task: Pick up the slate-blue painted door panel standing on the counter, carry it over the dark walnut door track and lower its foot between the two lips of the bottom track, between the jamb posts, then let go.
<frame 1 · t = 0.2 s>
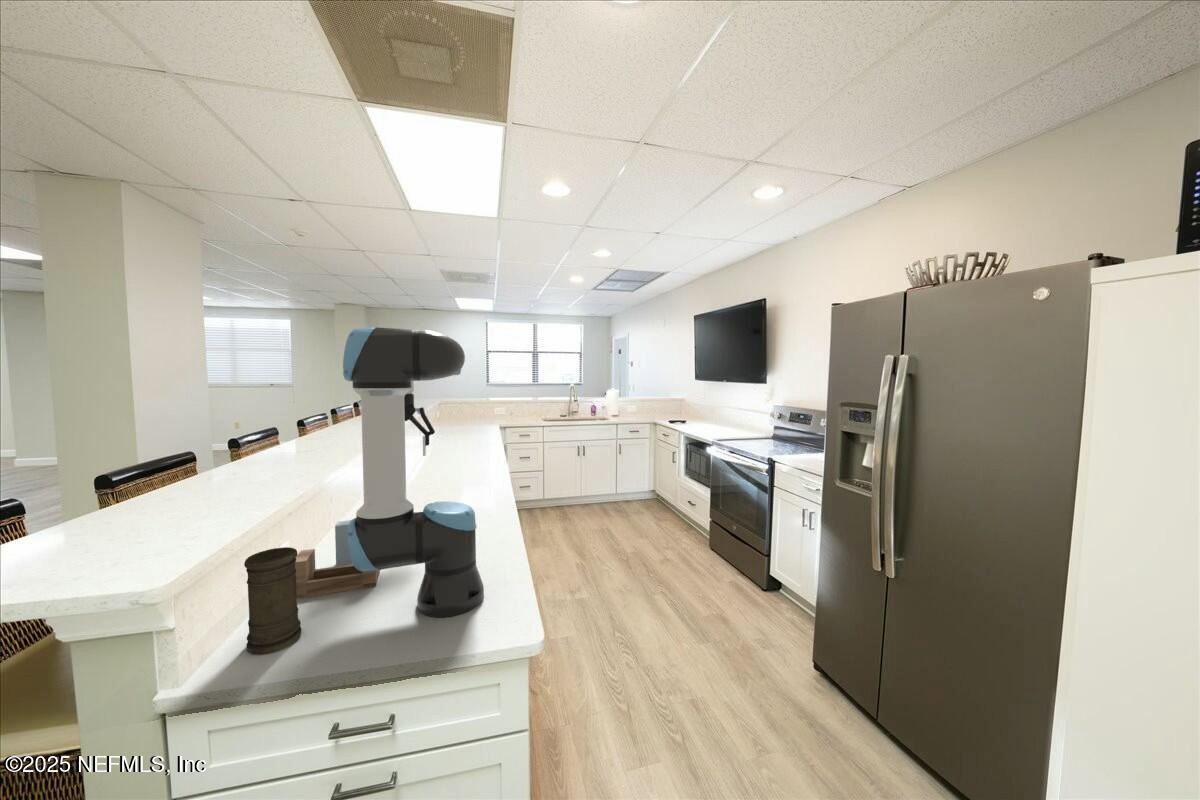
hand: (402, 456, 140), 27 cm above the worktop, fingers open, 13 cm apart
door: (353, 562, 121), on the worktop
frame: (338, 585, 108), on the worktop
container: (275, 642, 85), on the worktop
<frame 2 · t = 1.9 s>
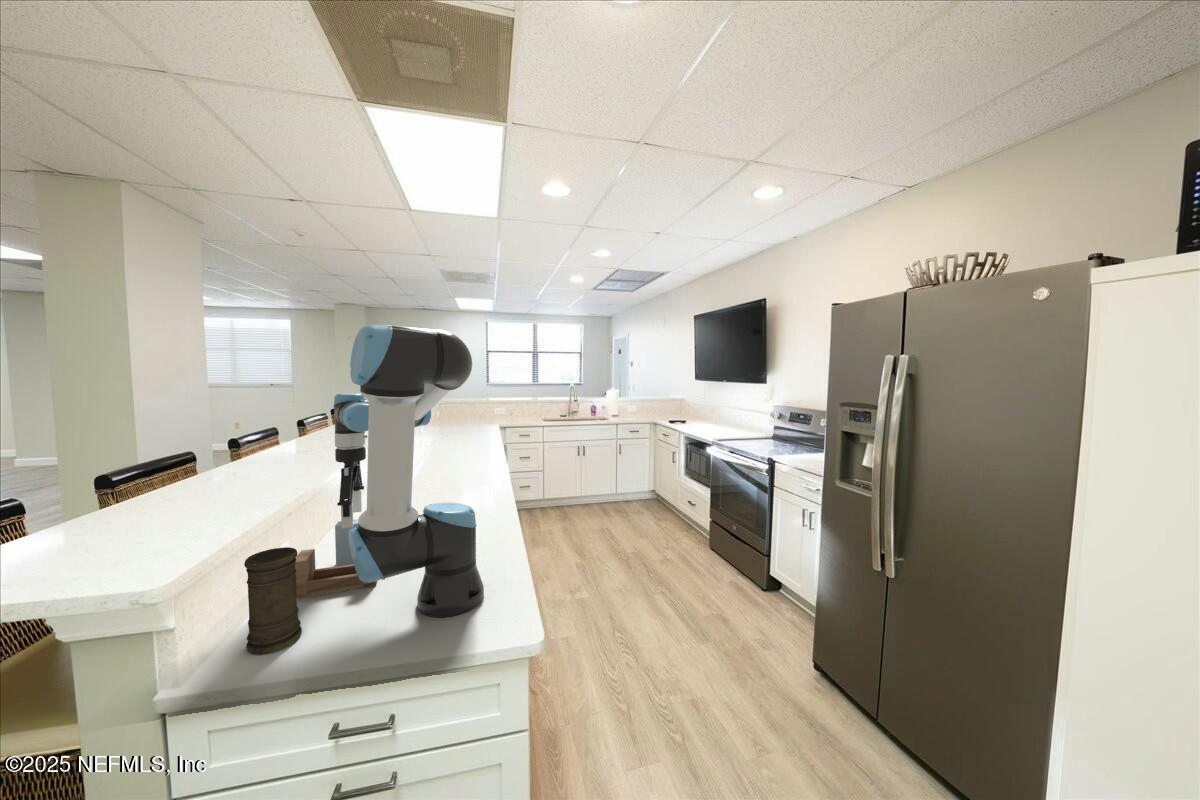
hand: (352, 519, 121), 13 cm above the worktop, fingers open, 13 cm apart
nothing on the worktop moved.
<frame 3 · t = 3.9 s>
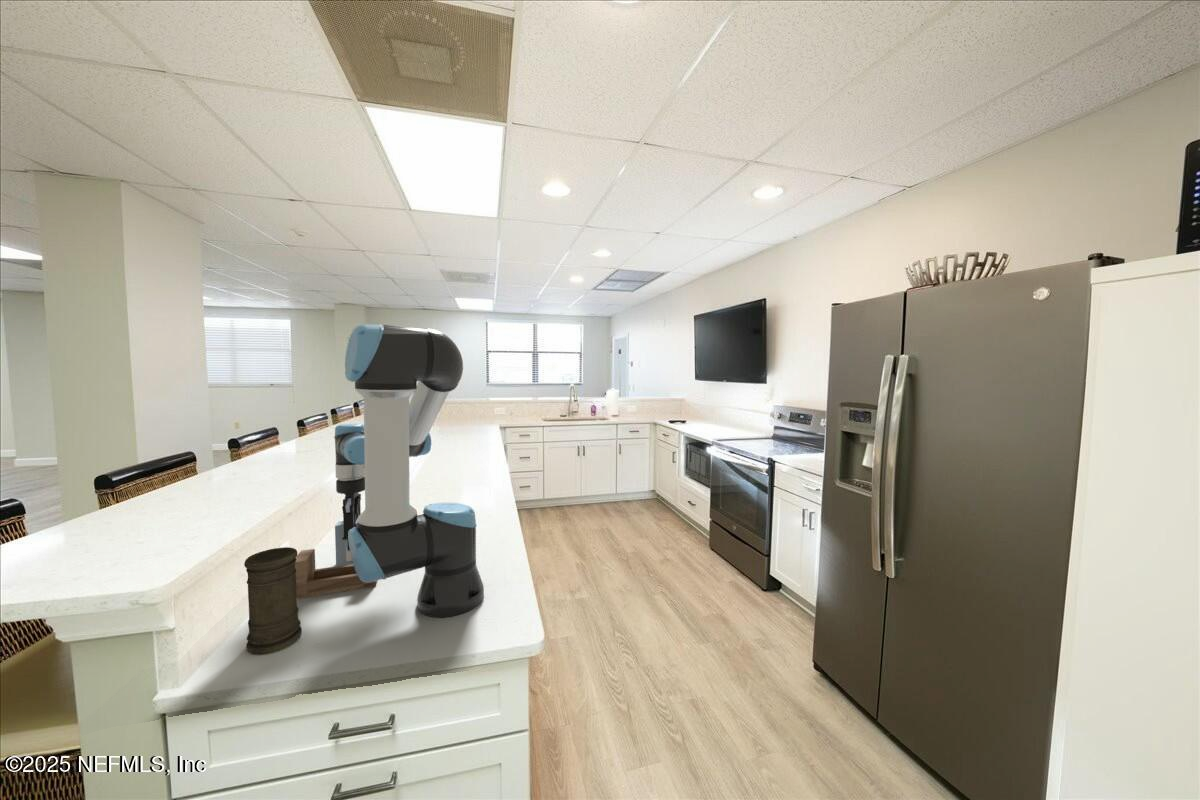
hand: (353, 556, 121), 2 cm above the worktop, fingers closed on door, 4 cm apart
door: (353, 562, 121), on the worktop, touching gripper
everything else where it was.
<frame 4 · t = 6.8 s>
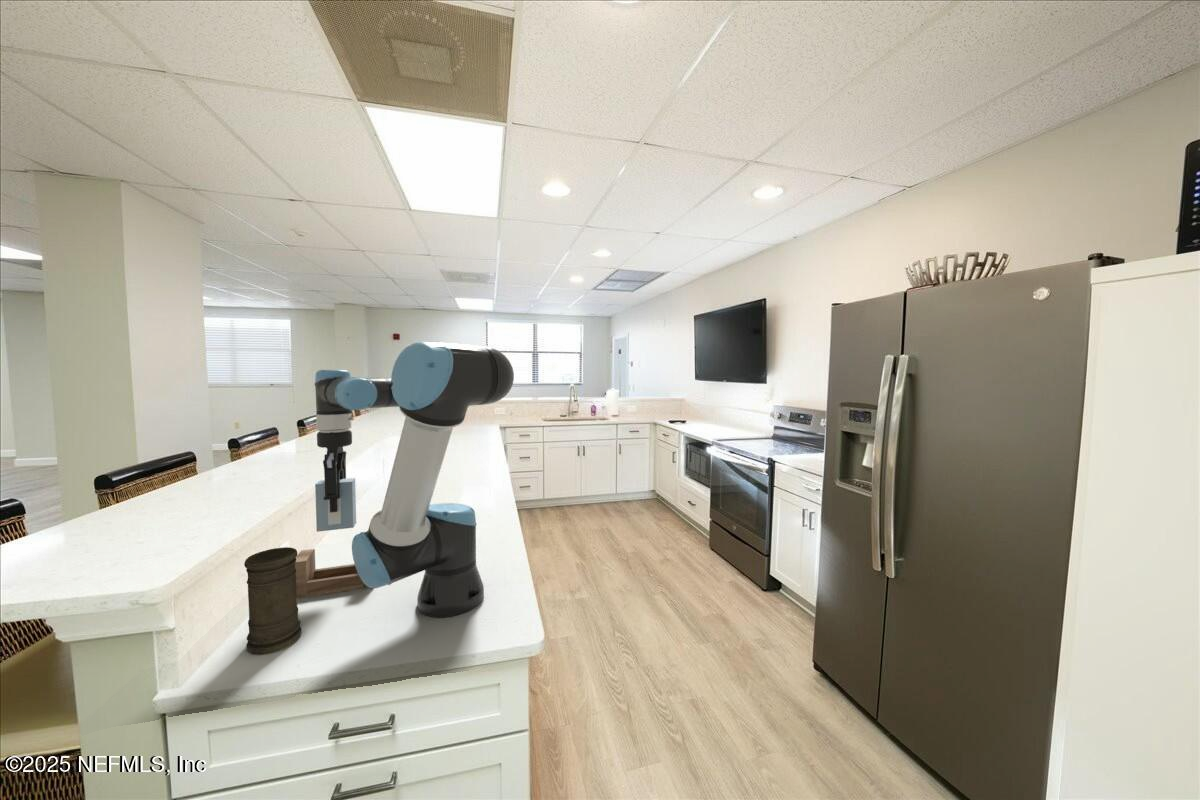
hand: (337, 520, 107), 17 cm above the worktop, fingers closed on door, 4 cm apart
door: (337, 527, 107), point 15 cm above the worktop, touching gripper
everything else where it was.
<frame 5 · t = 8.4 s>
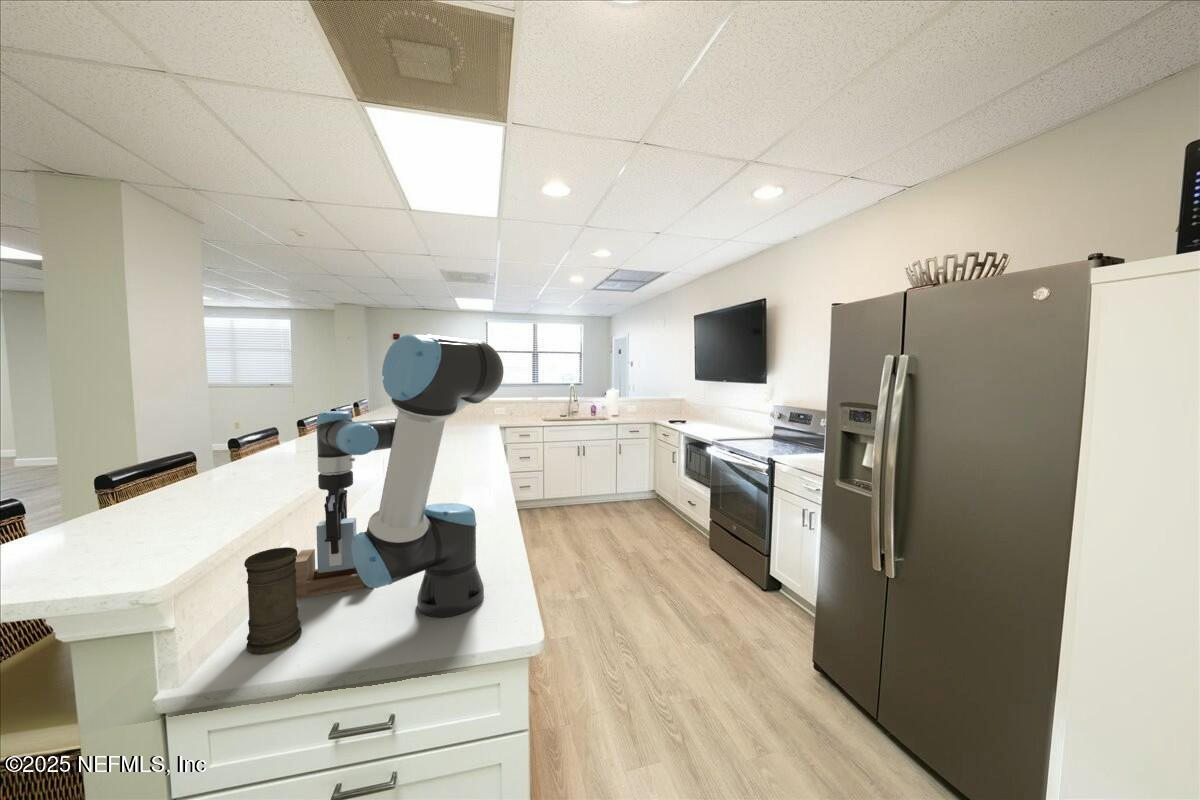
hand: (338, 560, 107), 6 cm above the worktop, fingers closed on door, 4 cm apart
door: (338, 567, 108), point 5 cm above the worktop, touching gripper
everything else where it was.
when the fingers open (5 cm above the worktop, at t = 9.5 s): door drops 2 cm, resting on frame.
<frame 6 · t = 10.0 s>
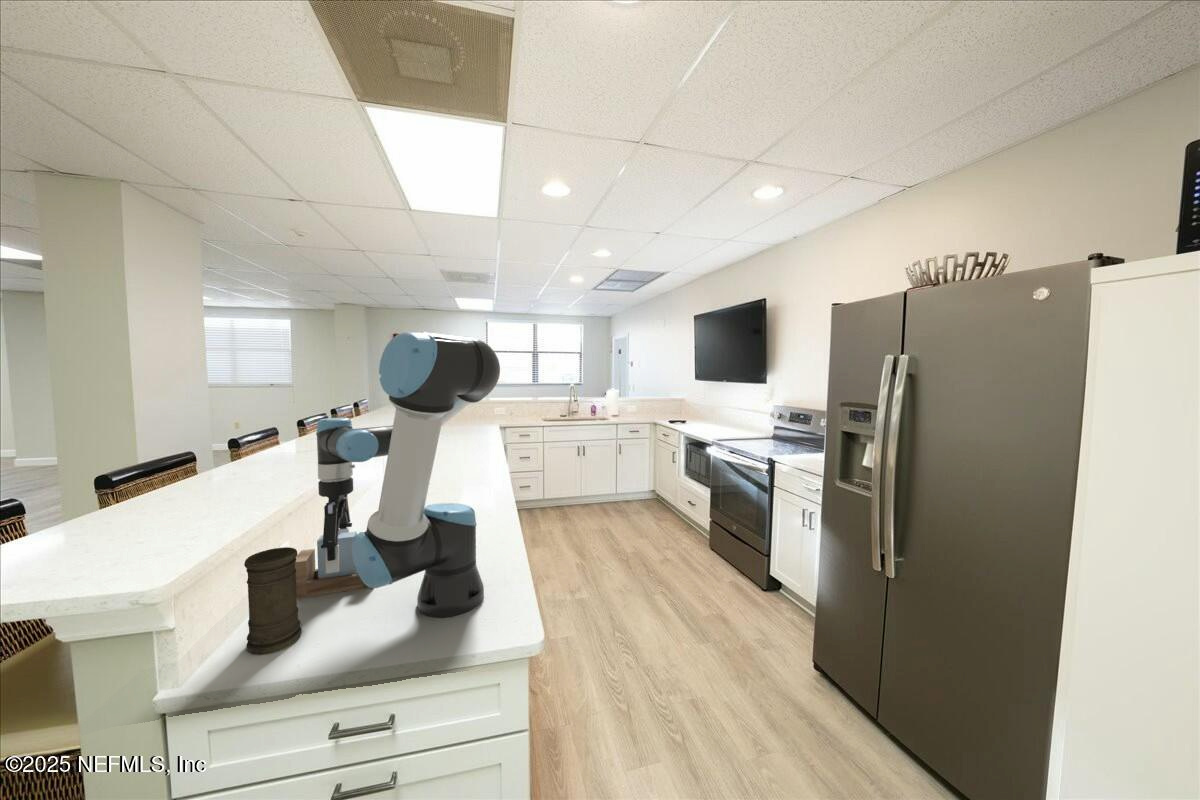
hand: (338, 561, 107), 6 cm above the worktop, fingers open, 11 cm apart
door: (338, 581, 108), point 1 cm above the worktop, touching frame
everything else where it was.
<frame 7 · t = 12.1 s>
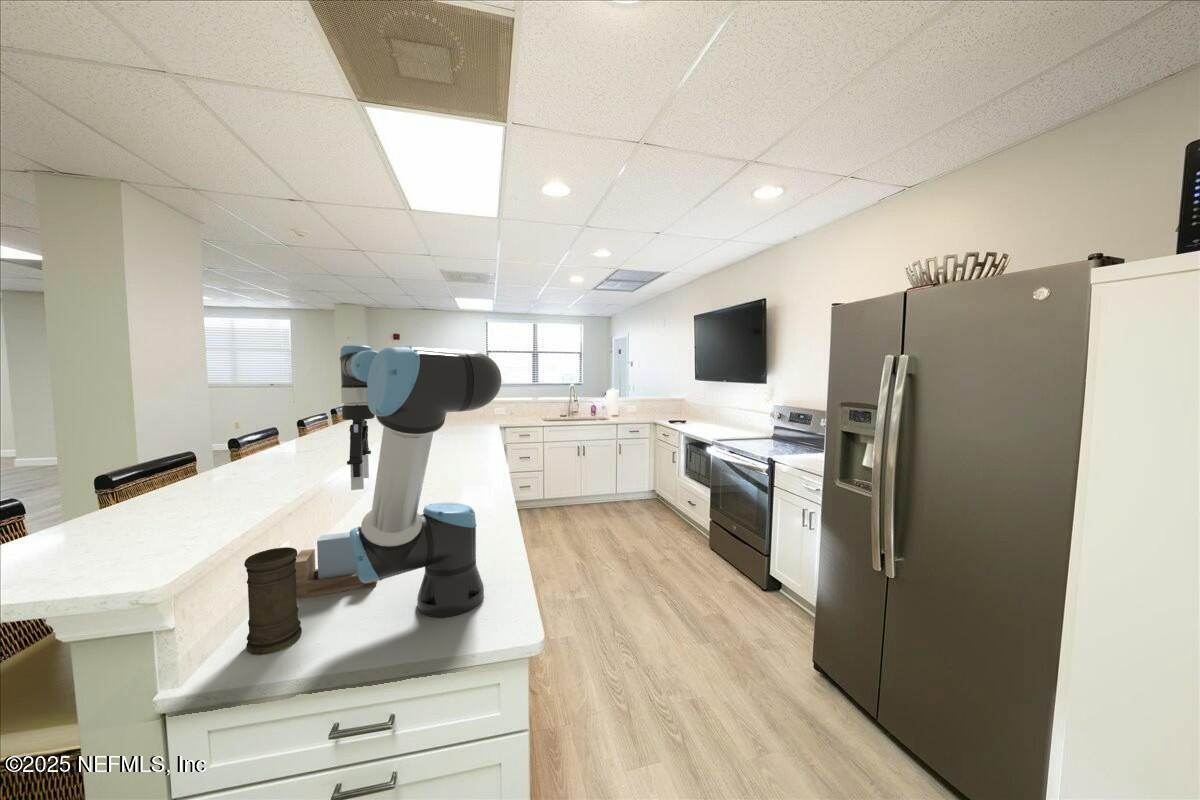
hand: (360, 483, 111), 25 cm above the worktop, fingers open, 13 cm apart
nothing on the worktop moved.
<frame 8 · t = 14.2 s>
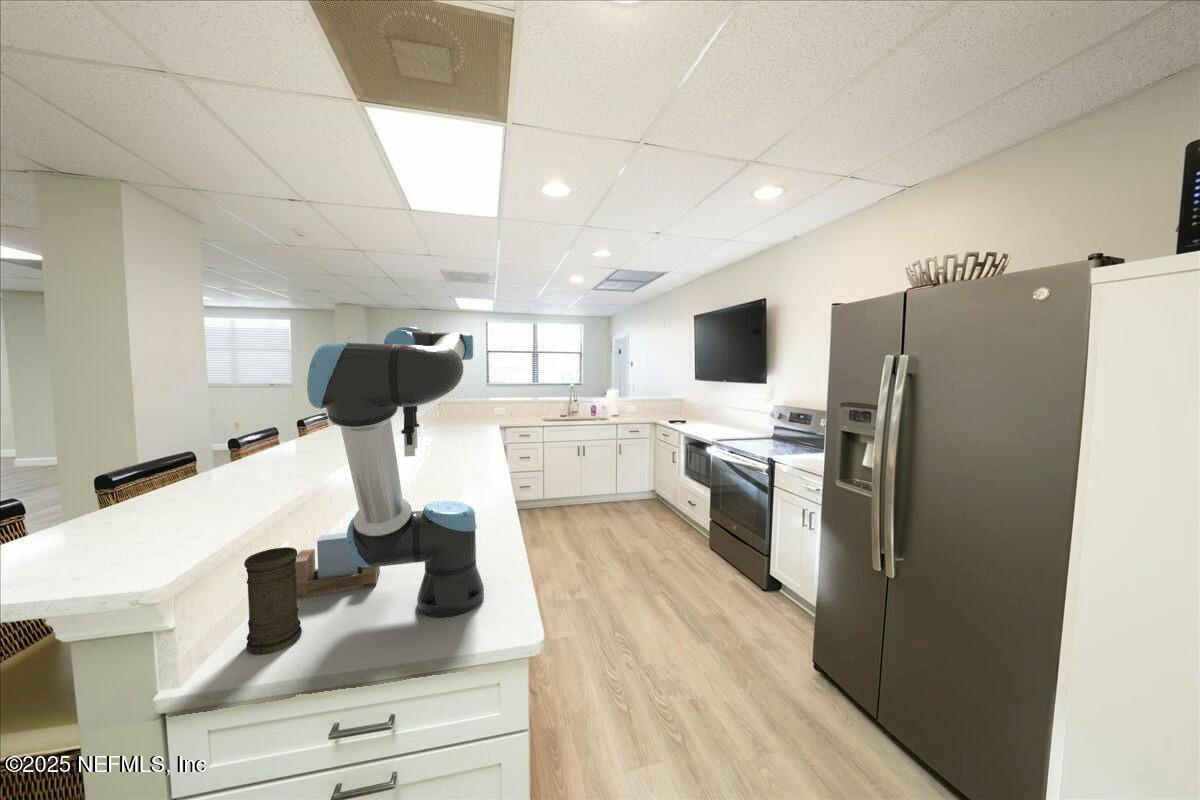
hand: (411, 452, 123), 32 cm above the worktop, fingers open, 13 cm apart
nothing on the worktop moved.
at the end: door inside the target area on the frame (0.1 cm from its centre), point 1.0 cm above the frame's base; door tilted 0°; the gripper is holding nothing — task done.
